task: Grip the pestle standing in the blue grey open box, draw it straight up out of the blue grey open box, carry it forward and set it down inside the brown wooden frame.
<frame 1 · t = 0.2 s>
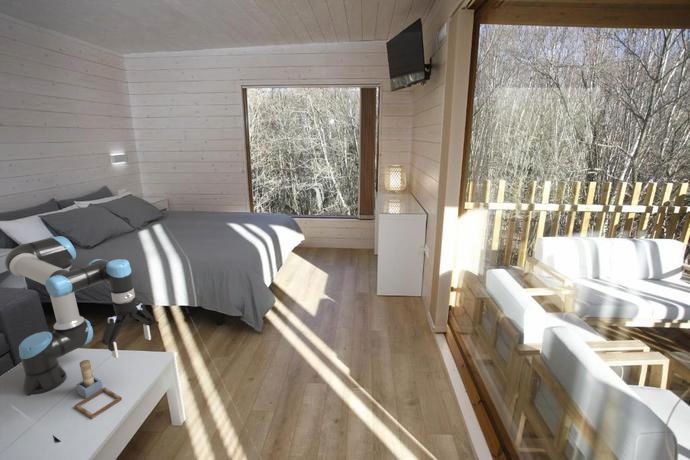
hand: (132, 347, 149), 28 cm above the table, fingers open, 13 cm apart
smartphone: (64, 427, 146), on the table
blue grey open box: (91, 392, 163), on the table
brown wooden frame: (99, 405, 156), on the table
pestle: (91, 391, 163), point 1 cm above the table, touching blue grey open box
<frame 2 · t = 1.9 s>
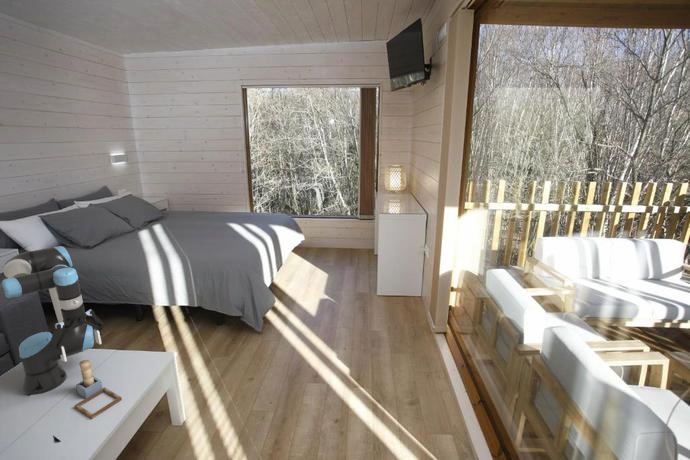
hand: (82, 351, 157), 21 cm above the table, fingers open, 13 cm apart
nothing on the table moved.
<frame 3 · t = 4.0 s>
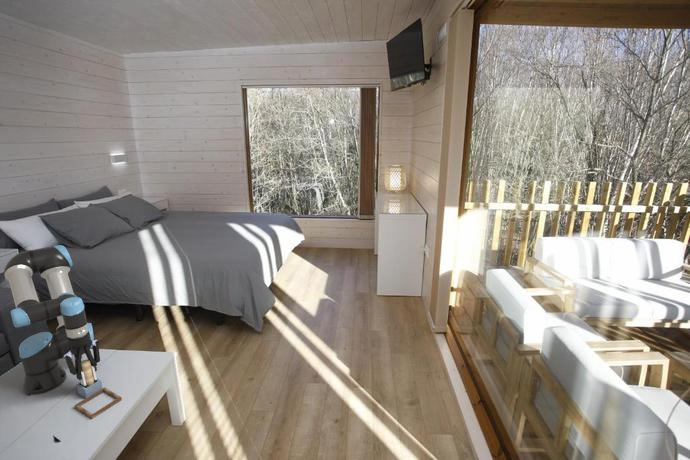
hand: (88, 381, 161), 6 cm above the table, fingers closed on pestle, 3 cm apart
pestle: (91, 391, 163), point 1 cm above the table, touching blue grey open box, gripper
everything else where it was.
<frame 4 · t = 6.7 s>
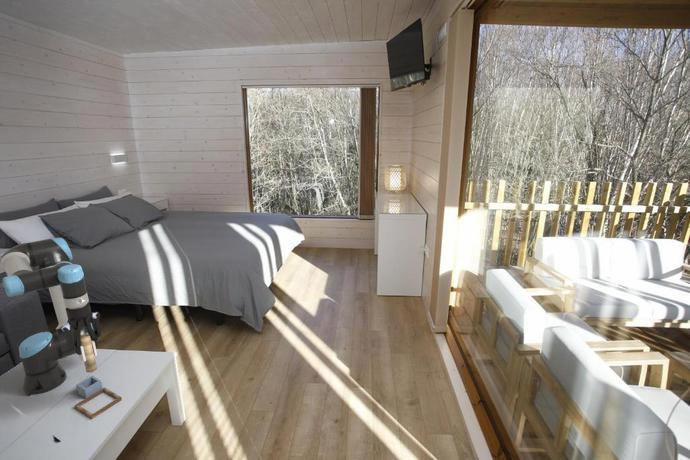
hand: (88, 357, 149), 24 cm above the table, fingers closed on pestle, 3 cm apart
pestle: (91, 369, 151), point 18 cm above the table, touching gripper
everything else where it was.
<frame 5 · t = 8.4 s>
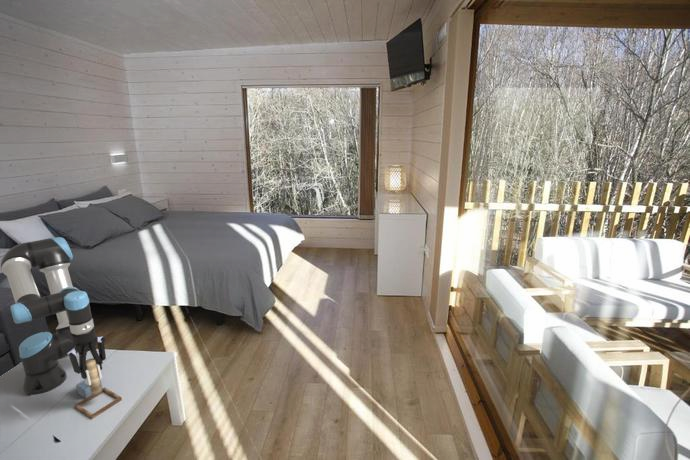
hand: (93, 380, 152), 13 cm above the table, fingers closed on pestle, 3 cm apart
pestle: (96, 392, 154), point 7 cm above the table, touching gripper
everything else where it was.
when the fingers open (7 cm above the table, at t = 9.7 s): pestle stays where it is, resting on brown wooden frame.
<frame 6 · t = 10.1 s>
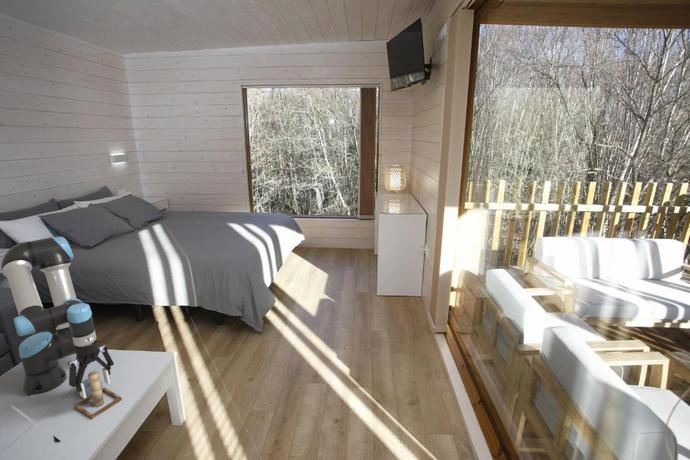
hand: (95, 389, 154), 8 cm above the table, fingers open, 9 cm apart
pestle: (99, 404, 156), point 1 cm above the table, touching brown wooden frame
everything else where it was.
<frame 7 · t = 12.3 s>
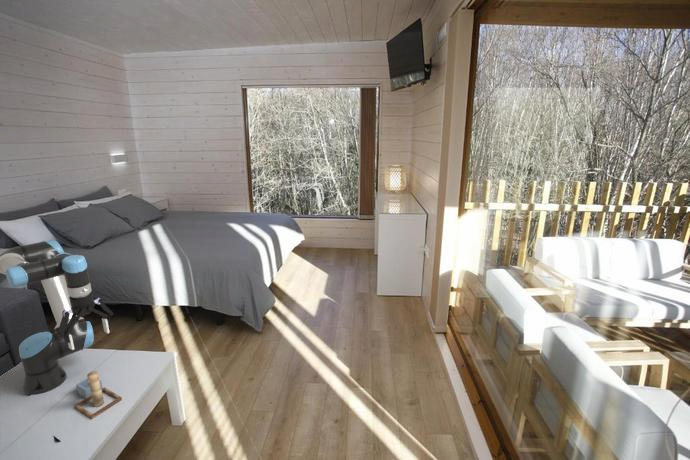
hand: (90, 340, 154), 27 cm above the table, fingers open, 13 cm apart
nothing on the table moved.
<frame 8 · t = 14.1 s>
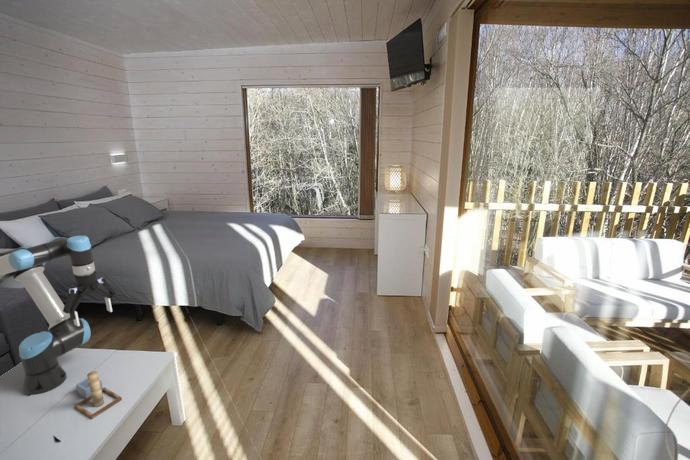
hand: (94, 317, 162), 32 cm above the table, fingers open, 13 cm apart
nothing on the table moved.
at the end: pestle inside the target area on the brown wooden frame (0.0 cm from its centre), point 0.6 cm above the brown wooden frame's base; the gripper is holding nothing; pestle moved 10.5 cm from its start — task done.
